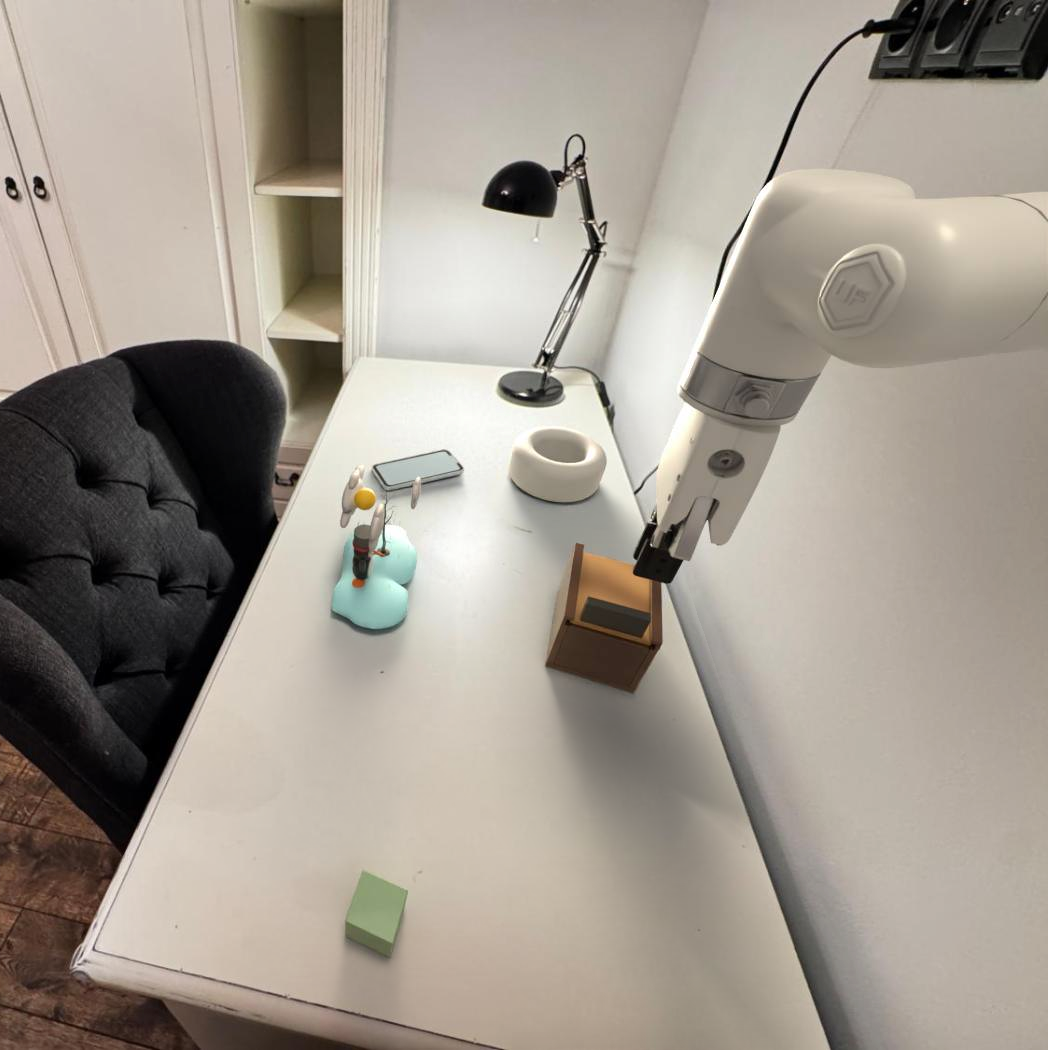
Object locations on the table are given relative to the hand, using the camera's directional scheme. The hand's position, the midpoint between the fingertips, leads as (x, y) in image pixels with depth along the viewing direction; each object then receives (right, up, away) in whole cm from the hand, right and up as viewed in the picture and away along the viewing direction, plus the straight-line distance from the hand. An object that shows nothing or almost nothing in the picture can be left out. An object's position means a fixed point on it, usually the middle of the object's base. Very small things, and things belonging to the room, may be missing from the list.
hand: (651, 568), depth 51 cm
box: (+4, -10, +20) cm, 23 cm away
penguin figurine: (-24, -4, +28) cm, 37 cm away
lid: (+4, -4, +15) cm, 16 cm away
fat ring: (+8, +12, +47) cm, 49 cm away
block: (-25, -30, -3) cm, 39 cm away
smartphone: (-15, +13, +48) cm, 52 cm away
